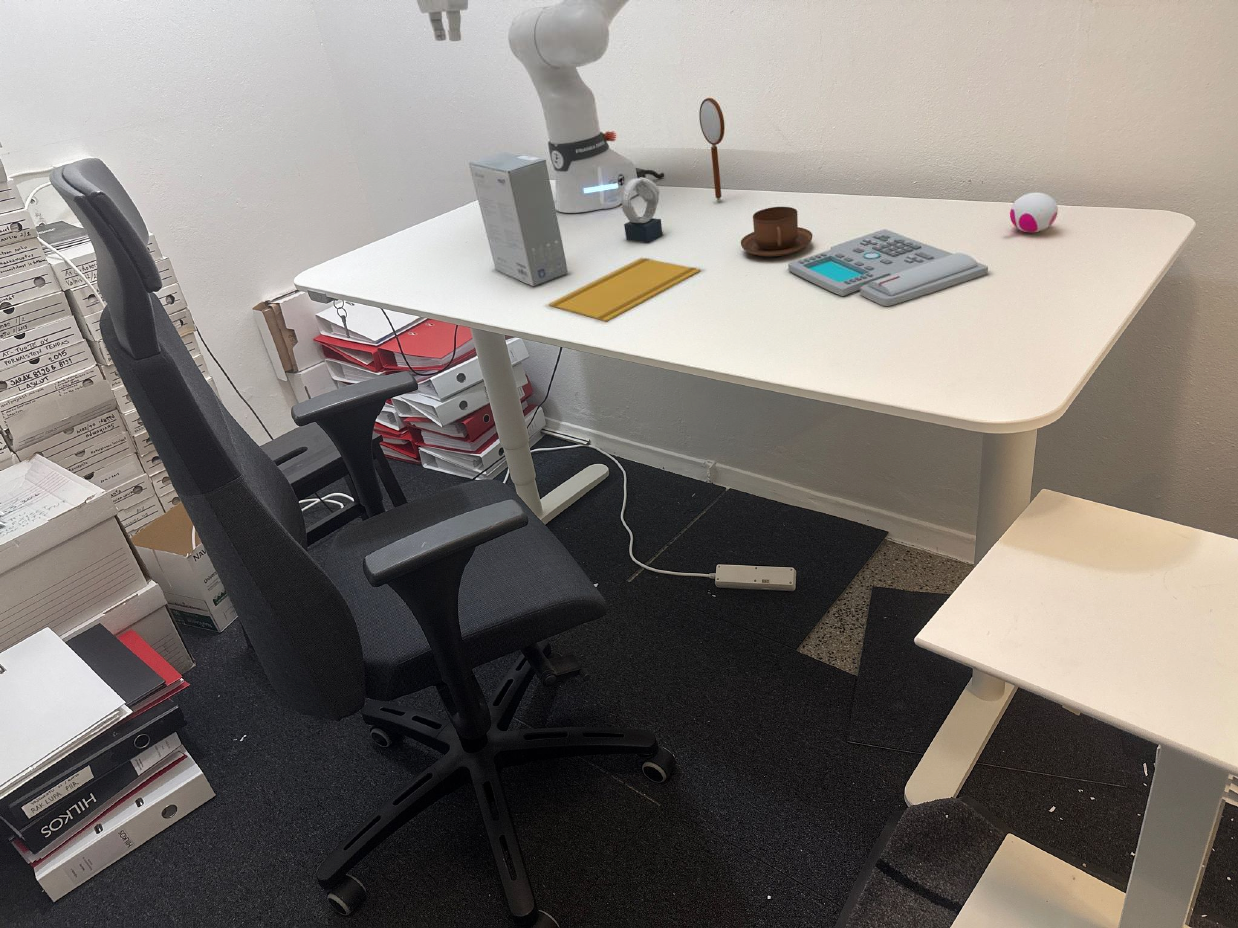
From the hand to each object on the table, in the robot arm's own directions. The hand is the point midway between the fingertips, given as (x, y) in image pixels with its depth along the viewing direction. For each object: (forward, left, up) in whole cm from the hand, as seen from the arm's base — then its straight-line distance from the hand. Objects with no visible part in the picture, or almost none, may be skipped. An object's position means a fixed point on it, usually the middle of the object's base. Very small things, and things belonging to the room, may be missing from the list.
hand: (448, 41), depth 149 cm
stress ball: (-39, +91, -38) cm, 106 cm away
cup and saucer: (-18, +58, -38) cm, 71 cm away
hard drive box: (+8, +22, -38) cm, 44 cm away
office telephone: (-16, +79, -38) cm, 89 cm away
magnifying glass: (-36, +30, -38) cm, 60 cm away
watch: (-14, +30, -38) cm, 50 cm away
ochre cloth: (+6, +45, -38) cm, 59 cm away
